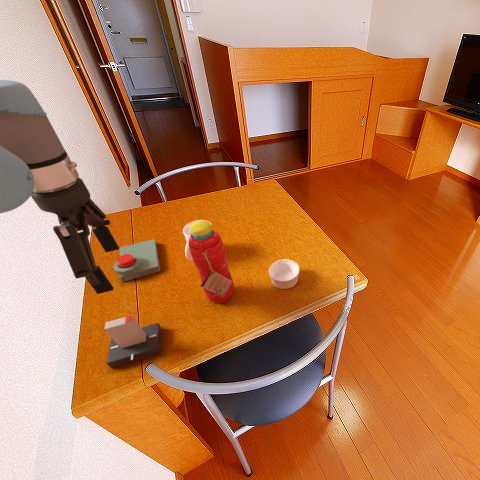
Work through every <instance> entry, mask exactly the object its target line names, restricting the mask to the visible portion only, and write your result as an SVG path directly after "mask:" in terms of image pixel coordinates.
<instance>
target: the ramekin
mask: <svg viewBox="0 0 480 480" xmlns="http://www.w3.org/2000/svg"><path fill="white" fill-rule="evenodd" d="M268 273H269V276H270V280H271V283H272V284H273V286H274V287H276V288H277V289H280V290H286V289H287V290H288V289H291V288H293V287H294V286H296V284H297V283H298V282H299V276H300V275H299V274H300V266H299V264H298V263H297V262H296V261H294V260H292V259H287V258H282V259H279V260H276V261H274V262H273V263H271V265H270V266H269V268H268Z"/></svg>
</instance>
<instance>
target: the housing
mask: <svg viewBox="0 0 480 480" xmlns="http://www.w3.org/2000/svg"><path fill="white" fill-rule="evenodd" d="M158 248H159V247H158V242H157V241H156V239H155V238H153V239H149V240H145V241H141V242H137V243H133V244H128V245H124V246H120V247H119V257H120V256H122V255H125V254H131V255H132V256H133V257H134V259H135V264H134V265H133V266H131V267H128V268H121V267H120V266H119V264H118V263H117V260H116V261H115V262H114V264H113V270H114V271H115V273H116V274H117V275H118V276H119V279H120V280H121V282H122V283H124V282H128V281H131V280H135V279H139V278H142V277H145V276H148V275H152V274H155V273H158V272H161V264H160V257H159V249H158Z"/></svg>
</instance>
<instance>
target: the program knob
mask: <svg viewBox="0 0 480 480" xmlns="http://www.w3.org/2000/svg"><path fill="white" fill-rule="evenodd" d="M104 331H105V332H106V333H107V334H108V335H109V337H110V338H111V337H112V339H113V340H114V341H115V342H116V343H117V344H118V345H119V347H120V348H125V347H128V346H132V345H135V344H138V343H142V342H145V341H146V334H145V332H144V331H143V329H142V327H141V325H140V323H139V322H138V320H137V319H136V318H135V316H134V315H133V314H132V315H130V314H129V315H127V316H124V317H121V318H117V319H113V320H109V321H105V325H104Z"/></svg>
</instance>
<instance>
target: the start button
mask: <svg viewBox="0 0 480 480" xmlns="http://www.w3.org/2000/svg"><path fill="white" fill-rule="evenodd" d="M116 261H117V263H118V264H119V266H120V267H121V268H128V267H131V266H133V265H134V264H135V259H134V257H133V256H132V255H131V254H125V255H122V256H120V255H119V257H117V259H116Z"/></svg>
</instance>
